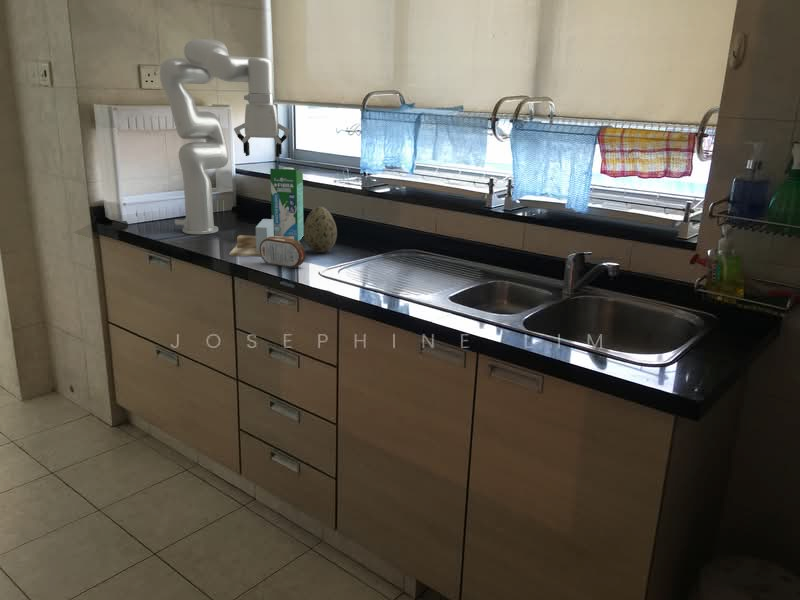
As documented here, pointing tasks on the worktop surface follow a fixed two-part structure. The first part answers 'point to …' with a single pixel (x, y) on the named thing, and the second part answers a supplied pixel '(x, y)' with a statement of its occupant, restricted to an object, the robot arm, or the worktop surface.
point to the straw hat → (249, 245)
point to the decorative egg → (320, 230)
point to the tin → (282, 252)
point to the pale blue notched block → (264, 231)
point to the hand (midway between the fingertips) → (262, 156)
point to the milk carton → (287, 202)
